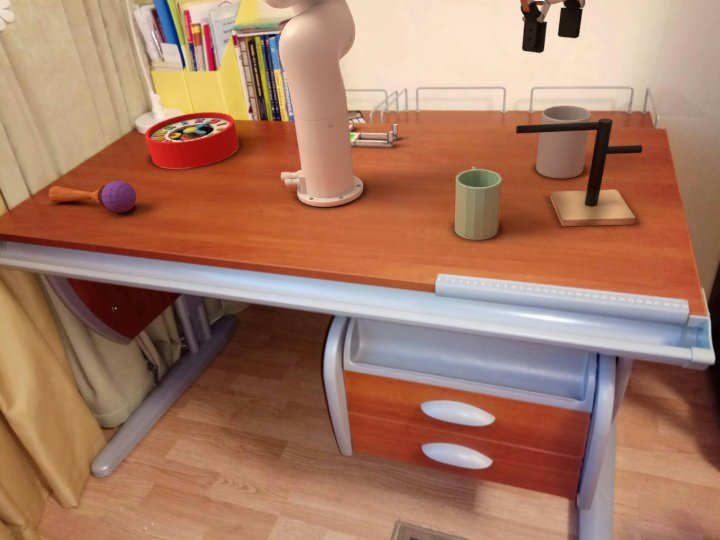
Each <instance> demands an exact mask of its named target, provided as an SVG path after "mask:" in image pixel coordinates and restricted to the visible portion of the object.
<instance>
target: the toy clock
mask: <svg viewBox="0 0 720 540" xmlns="http://www.w3.org/2000/svg"><path fill="white" fill-rule="evenodd" d="M237 133H238V132H237V128H236V125H235V119H234V117H233V116H231V115H230V114H227V113H225V112H224V113H223V112H217V111H216V112H215V111H214V112H213V111H202V112H193V113H185V114H182V115H177V116H173V117H170V118H167V119H165V120H161V121H159V122H157V123H155V124H153V125H151V126H150V127H149V128H147V129H146V131H145V133H144V137H145V140H146V144H147V147H148V151H149V154H150V157H151V160H152V162H153V164H155V165H156V166H158V167H159V168H163V169H170V170H184V169H193V168H200V167H204V166H208V165H211V164H216V163H217V162H220V161H223V160H225V159H227V158H228V157H230V156H232V155H233V154H234V153H236V152H237V151H238V149H239V147H240V141H239V138H238V134H237Z"/></svg>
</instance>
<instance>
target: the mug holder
mask: <svg viewBox="0 0 720 540" xmlns="http://www.w3.org/2000/svg"><path fill="white" fill-rule="evenodd" d="M613 122H614V121H613V119H611V118H605V117H604V118H599V119H598V121H590V122H584V123H563V124H541V123H540V124H522V125H516V126H515V133H516V134H538V133H539V134H540V133H543V132H565V131H587V130H589V131H595V138H594V143H593V144H594V145H593V151H592V156H591V162H590V167H589V173H588V181H587V186H586V190H584V189H583V190H559V191H557V190H556V191H553V190H552V191H550V192H549V193H550V194H549V199H550V202H551V204H552V206H553V208H554V210H555V213H556V215H557V218H558V220H559V222H560V224H561V227H587V226H588V227H589V226H619V225H620V226H622V225H623V226H627V225H635V223H636V218H637V217H636V216H635V214H634V213H633V212H632V210H631V208H630V207H629V205H628V204H627V203H626V201H625V199H624V198H623V196H622V194H620V192H619V191H618V189H615V188H614V189H602V188H601V187H602V182H603V176H604V172H605V166H606V160H607V155H622V154H623V155H624V154H641V153H643V145H642V144H634V145H632V144H631V145H610V146H609V143H610V138H611V134H612V127H613Z"/></svg>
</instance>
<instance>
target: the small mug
mask: <svg viewBox="0 0 720 540" xmlns="http://www.w3.org/2000/svg"><path fill="white" fill-rule="evenodd" d="M454 181H455V183H454V185H455V186H454V190H455V191H454V232H455V233H456V235H458V236H459V237H461V238H463V239H466V240H470V241H483V240H487V239H491V238H493V237H494V236H496V235H497V233H498V232H499V228H500V227H499V226H500V215H501V214H500V213H501V200H502V199H501V198H502V188H503V187H502V185H503V178H502V176H501V174H499V173H498V172H496V171H493V170H490V169H484V168H477V166H475V165H474V166H472V167H471V168H470V169H467V170H463V171H461V172H459V173H458V174H457V175H456V176H455V180H454Z"/></svg>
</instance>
